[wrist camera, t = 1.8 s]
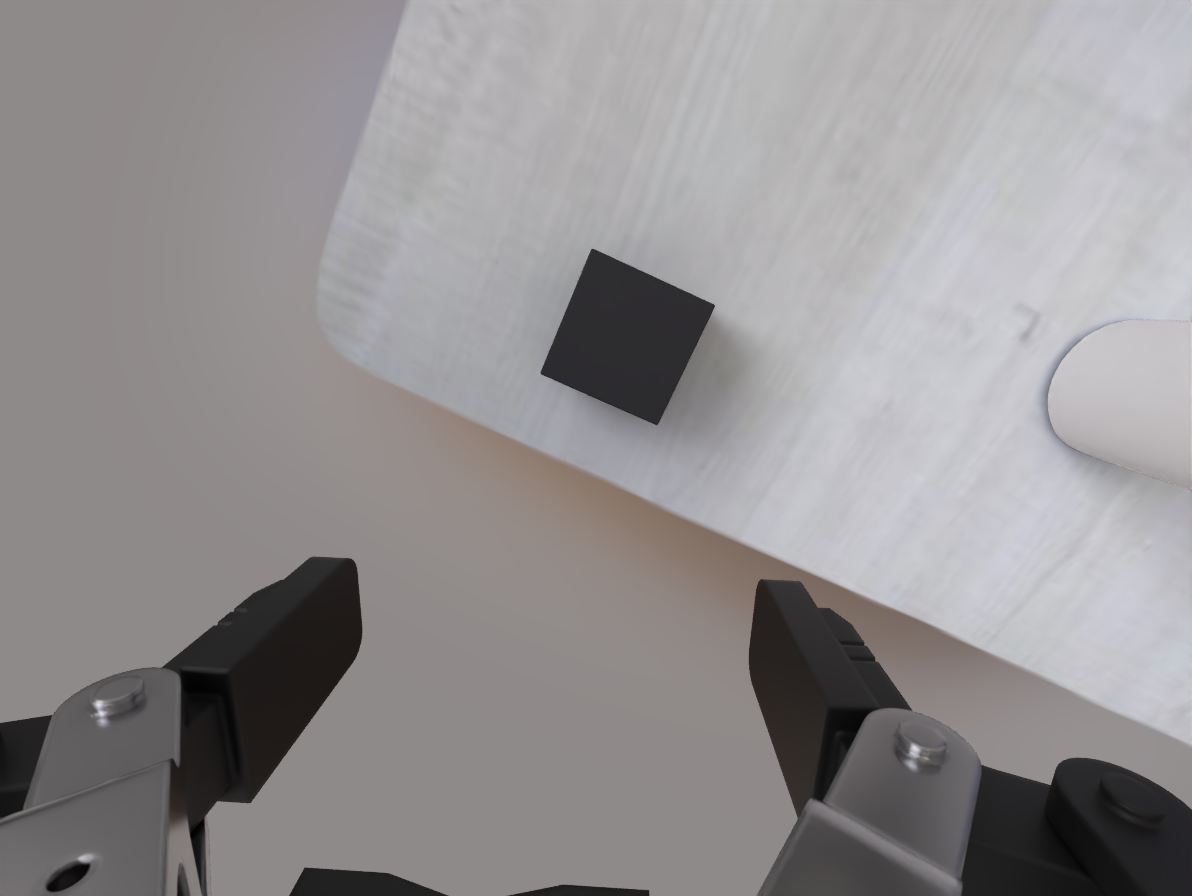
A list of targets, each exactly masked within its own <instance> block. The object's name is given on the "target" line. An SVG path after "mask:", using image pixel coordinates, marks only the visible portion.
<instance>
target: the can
mask: <svg viewBox="0 0 1192 896" xmlns="http://www.w3.org/2000/svg"><path fill="white" fill-rule="evenodd" d="M1048 413H1049V418H1050V421H1051V424H1052V427H1053V429H1054V431H1055V433H1056V434H1057V436H1058V437H1059V438H1060V439H1061V440H1062V441H1063V442H1065V443H1066V444H1067V445H1069V446H1070V447H1072V448H1074V449H1076V450H1078V451H1080V452H1082V453H1085V454H1087V455H1090V456H1093V457H1096V458H1098V459H1101V460H1104V461H1107V462H1110V463H1113V464H1115V465H1118V466H1121V467H1124V468H1127V469H1130V470H1133V471H1136V472H1138V473H1141V474H1144V475H1147V476H1150V477H1153V478H1156V479H1159V480H1162V481H1165V482H1168V483H1170V484H1173V485H1176V486H1179V487H1182V488H1185V489H1188V490H1191V491H1192V321H1177V320H1144V319H1139V320H1126V321H1120V322H1116V323H1113V324H1110V325H1107V326H1105V327H1102V328H1100V329H1098V330H1096V331H1094V332H1093V333H1091V334H1089V335H1088V336H1086V337H1085V338H1084V339H1082V340H1081V341H1080V342H1079V343H1077V344H1076V345H1075V346H1074V347H1073V348H1072V349H1071V350H1070V351H1069V353H1068V354H1067V355H1066V356H1065V357H1064V359H1063V360H1062V362H1061V363H1060V364H1059V366H1058V368H1057V370H1056V371H1055V373H1054V376H1053V378H1052V381H1051V384H1050V388H1049V393H1048Z"/></svg>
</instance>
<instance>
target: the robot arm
mask: <svg viewBox="0 0 1192 896" xmlns="http://www.w3.org/2000/svg"><path fill="white" fill-rule="evenodd" d="M361 639H362V619H361V608H360V595H359V585H358V572H357V567H356V564H355V562H354V561H353V560H352V559H350V558H332V557H311V558H309V559H308V560H307V561H305V562H304V563H303V564H302V565H301V566H299V567H298V568H297V569H296V570H295V571H294V572H292V573H291V574H290V575H289V576H288V577H286V578H285V579H284V580H280V581H278V582H276V583H274V584H271V585H270V586H268V587H265V588H263V589H261V590H259V591H257V592H255V593H253V594H252V595H251V596H250V597H248V598H247V599H246V600H245V601H243V602H242V603H241V604H240V605H238V606H237V607H236V608H235V609H234V612H230V613H229V614H227V615H226V616H225V617H224V618H222V619H221V620H220V621H219V622H218V625H217V626H213V627H211V628H210V629H209V630H208V631H206V632H205V633H204V634H203V635H201V636H200V637H199V638H198V639H197V640H195V641H194V642H193V643H192V644H190V645H189V646H188V647H187V648H186V649H184V650H183V651H182V652H181V653H179V654H178V655H177V656H176V657H174V658H173V659H172V660H171V661H169V662H168V663H167V664H166V665H164V666H163V667H162V668H156V667H152V668H141V669H135V670H130V671H126V672H122V673H119V674H116V675H112V676H110V677H107V678H105V679H102V680H100V681H98V682H95V683H93V684H91V685H89V686H87V687H85V688H84V689H82V690H80V691H79V692H77V693H75V694H74V695H72V696H71V697H70V698H69V699H67V700H66V701H65V702H64V703H63V704H61V705H60V706H59V707H58V709H57V710H56V712H54V714H53V715H50V716H44V717H36V718H30V719H24V720H17V721H11V722H4V723H0V896H211V870H210V844H209V829H208V824H207V818H206V815H207V813H208V812H209V811H210V809H211V808H212V807H213V806H214V804H215V803H216V802H217V801H223V802H239V803H251V802H252V800H253V799H254V797H255V796H256V795H257V793H258V792H259V791H260V789H261V788H262V786H263V785H264V784H265V782H266V781H267V780H268V778H269V777H270V775H271V774H272V773H273V771H274V770H275V768H276V767H277V766H278V764H279V763H280V762H281V760H282V759H283V758H284V756H285V755H286V754H287V752H288V751H289V749H290V748H291V746H292V745H293V744H294V743H295V741H296V740H297V738H298V737H299V736H300V734H301V733H302V732H303V730H304V729H305V727H306V726H307V725H308V723H309V722H310V721H311V719H312V718H313V716H314V715H315V714H316V712H317V711H318V710H319V708H320V707H321V706H322V704H323V703H324V701H325V700H326V699H327V697H328V696H329V694H330V693H331V692H332V690H333V689H334V687H335V686H336V685H337V684H338V682H339V680H340V679H341V678H342V677H343V675H344V674H345V673H346V671H347V670H348V668H349V667H350V666H351V664H352V663H353V661H354V660H355V658H356V656H357V654H358V651H359V648H360V644H361ZM749 669H750V676H751V681H752V685H753V688H754V691H755V694H756V697H757V700H758V703H759V706H760V709H761V712H762V714H763V717H764V720H765V723H766V726H767V729H768V732H769V735H770V738H771V741H772V744H773V746H774V750H775V752H776V755H777V758H778V761H779V764H780V767H781V770H782V773H783V776H784V779H785V782H786V785H787V788H788V790H789V793H790V796H791V799H792V802H793V805H794V808H795V811H796V814H797V817H798V820H797V822H796V824H795V826H794V827H793V829H792V831H791V833H790V835H789V837H788V838H787V840H786V842H785V844H784V846H783V848H782V850H781V851H780V853H779V855H778V857H777V859H776V861H775V863H774V864H773V867H772V868H771V870H770V872H769V874H768V875H767V877H766V879H765V881H764V883H763V885H762V887H761V889H760V890H759V892H758V894H757V896H1192V810H1191V809H1190V808H1189V807H1188V806H1187V805H1186V804H1185V803H1184V802H1182V801H1181V800H1180V799H1178V798H1177V797H1176V796H1174V795H1173V794H1172V793H1170V792H1169V791H1167V790H1166V789H1164V788H1162V787H1161V786H1159V785H1158V784H1156V783H1154V782H1152V781H1150V780H1149V779H1147V778H1145V777H1143V776H1141V775H1139V774H1137V773H1135V772H1132V771H1130V770H1128V769H1125V768H1123V767H1120V766H1117V765H1114V764H1111V763H1108V762H1104V761H1100V760H1096V759H1089V758H1070V759H1067V760H1064V761H1062V762H1061V763H1059V764H1058V766H1057V768H1056V770H1055V774H1054V777H1053V780H1052V783H1051V785H1048V784H1044V783H1041V782H1037V781H1034V780H1030V779H1027V778H1023V777H1020V776H1016V775H1013V774H1009V773H1006V772H1002V771H998V770H995V769H992V768H989V767H986V766H983V765H981V762H980V759H979V757H978V755H977V753H976V752H975V751H974V749H973V748H972V747H971V745H970V744H969V743H968V742H967V741H966V740H965V739H964V738H963V737H961V736H960V735H959V734H958V733H957V732H955V731H954V730H952V729H951V728H950V727H948V726H946V725H944V724H943V723H941V722H939V721H937V720H935V719H933V718H931V717H929V716H926V715H923V714H921V713H917V712H914V711H912V709H911V708H910V706H909V705H908V704H907V702H906V701H905V699H904V698H903V697H902V695H901V694H900V692H899V691H898V690H897V688H896V687H895V685H894V684H893V682H892V681H891V680H890V678H889V677H888V675H887V674H886V673H885V671H884V670H883V668H882V667H881V665H880V664H879V663H878V662H876V661H875V657H874V656H873V654H872V653H871V651H870V650H869V648H868V647H867V646H864V642H863V640H862V639H861V637H860V636H859V634H858V633H857V632H856V630H855V629H854V627H853V626H852V625H851V624H850V623H849V622H848V621H846V620H845V619H843V618H842V617H841V616H839V615H838V614H837V613H835V612H834V611H832V610H831V609H830V608H817V606H816V604H815V603H814V602H813V600H812V598H811V597H810V595H809V593H808V592H807V590H806V589H805V587H804V586H803V584H802V583H801V582H799V581H786V580H766V579H765V580H764V579H761V580H760V581H759V582H758V585H757V589H756V596H755V605H754V613H753V623H752V630H751V639H750V647H749ZM289 896H448V895H445V894H442V893H440V892H437V891H434V890H432V889H429V888H426V887H423V886H421V885H418V884H416V883H413V882H410V881H407V880H405V879H402V878H400V877H397V876H394V875H391V874H389V873H378V872H362V871H347V870H333V869H318V868H304V870H303V872H302V874H301V875H300V877H299V879H298V881H297V883H296V884H295V886H294V888H293V890H292V892H291V894H290V895H289ZM510 896H649V890H636V889H621V888H606V887H591V886H575V885H559V886H554V887H549V888H544V889H540V890H534V891H529V892H524V893H519V894H515V895H510Z"/></svg>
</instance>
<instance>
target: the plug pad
mask: <svg viewBox="0 0 1192 896" xmlns="http://www.w3.org/2000/svg"><path fill="white" fill-rule="evenodd" d="M714 307H715V305H714V304H711V303H709V302H707V301H705V300H703V299H701V298H699V297H696V296H694V295H692V294H690V293H688V292H686V291H683V290H681V289H679V288H677V287H675V286H673V285H670V284H668V283H666V282H664V281H662V280H660V279H657V278H655V277H653V276H651V275H649V274H647V273H644V272H642V271H640V270H638V269H636V268H634V267H631V266H629V265H627V264H625V263H623V262H621V261H618V260H616V259H614V258H612V257H610V256H608V255H605V254H603V253H601V252H599V251H597V250H595V249H591V251H590V254H589V256H588V259H587V261H586V264H585V266H584V268H583V271H582V273H581V276H580V278H579V281H578V283H577V285H576V288H575V290H574V293H573V295H572V298H571V300H570V302H569V305H568V307H567V310H566V312H565V315H564V317H563V319H562V322H561V324H560V327H559V329H558V331H557V334H556V336H555V339H554V341H553V344H552V346H551V348H550V351H549V353H548V356H547V358H546V361H545V363H544V365H543V368H542V370H541V374H542V375H544V376H546V377H549V378H551V379H553V380H555V381H558V382H560V383H562V384H564V385H567V386H569V387H571V388H573V389H576V390H578V391H580V392H583V393H585V394H587V395H589V396H592V397H594V398H596V399H598V400H601V401H603V402H605V403H607V404H610V405H612V406H614V407H617V408H619V409H621V410H623V411H626V412H628V413H630V414H632V415H635V416H637V417H639V418H641V419H644V420H646V421H648V422H651V423H653V424H655V425H658V423H659V421H660V419H661V417H662V415H663V413H664V411H665V409H666V407H667V405H668V403H669V401H670V398H671V396H672V394H673V392H674V390H675V388H676V386H677V384H678V382H679V380H680V378H681V376H682V374H683V372H684V369H685V367H686V365H687V363H688V361H689V359H690V357H691V355H692V353H693V351H694V349H695V347H696V345H697V343H698V340H699V338H700V336H701V334H702V332H703V330H704V328H705V326H706V324H707V322H708V320H709V318H710V316H711V314H712V311H713V309H714Z"/></svg>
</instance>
